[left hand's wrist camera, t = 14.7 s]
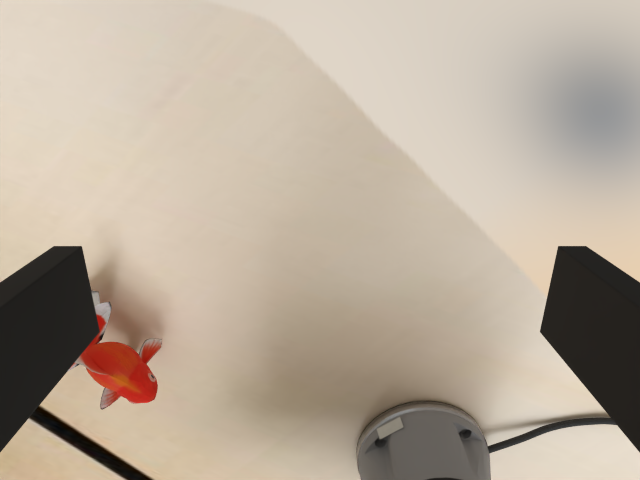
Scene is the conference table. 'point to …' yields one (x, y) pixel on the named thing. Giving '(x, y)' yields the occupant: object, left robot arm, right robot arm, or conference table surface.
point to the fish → (119, 364)
